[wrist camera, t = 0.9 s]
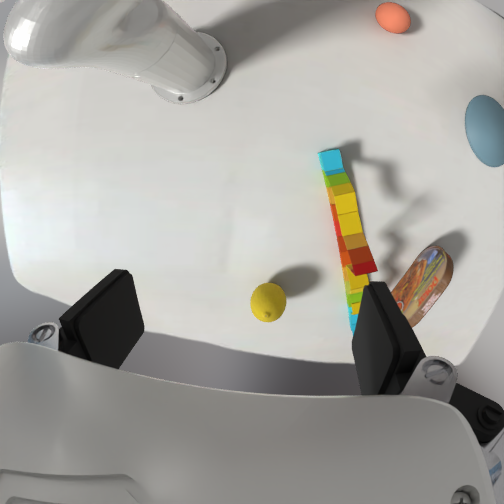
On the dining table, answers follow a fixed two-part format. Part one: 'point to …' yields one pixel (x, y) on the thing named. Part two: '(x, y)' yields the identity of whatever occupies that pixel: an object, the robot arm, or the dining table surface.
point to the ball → (393, 17)
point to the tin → (423, 283)
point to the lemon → (268, 302)
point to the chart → (347, 231)
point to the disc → (486, 130)
